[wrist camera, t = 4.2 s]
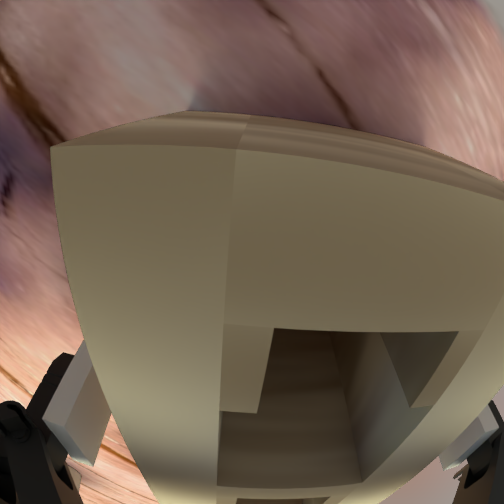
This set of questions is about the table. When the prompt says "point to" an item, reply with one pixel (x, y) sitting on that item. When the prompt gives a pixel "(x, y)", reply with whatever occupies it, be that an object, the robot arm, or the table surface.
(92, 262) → the cinder block
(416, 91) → the table surface
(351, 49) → the table surface
